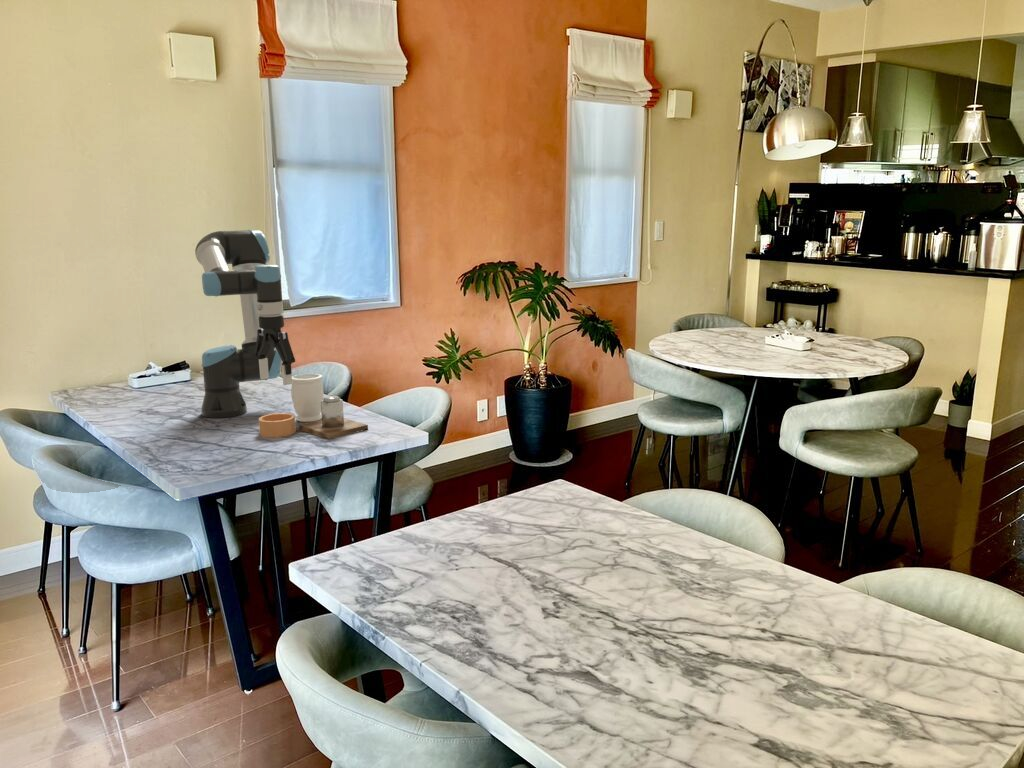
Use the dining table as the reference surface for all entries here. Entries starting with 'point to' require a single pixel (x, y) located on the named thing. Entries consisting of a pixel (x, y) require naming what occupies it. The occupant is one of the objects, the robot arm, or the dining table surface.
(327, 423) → the frosted glass cylinder
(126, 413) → the dining table surface
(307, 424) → the wooden board
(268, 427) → the ring
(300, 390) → the jar
